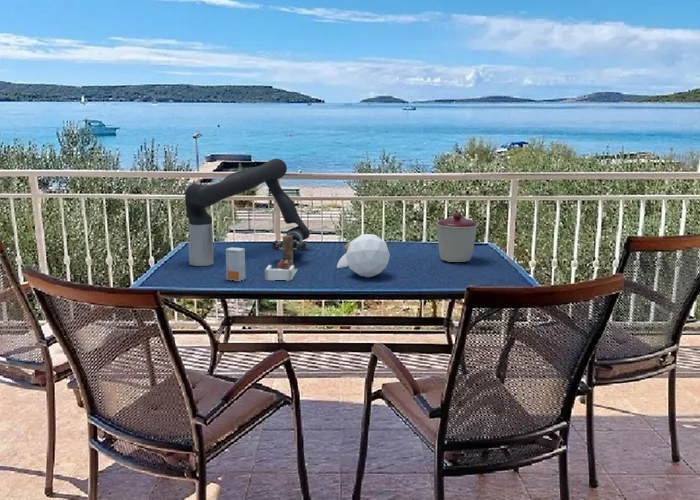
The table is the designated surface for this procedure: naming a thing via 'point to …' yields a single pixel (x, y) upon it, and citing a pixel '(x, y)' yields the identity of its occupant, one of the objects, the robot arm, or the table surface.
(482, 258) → the table surface
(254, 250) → the table surface
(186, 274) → the table surface
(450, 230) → the canister
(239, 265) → the skincare box
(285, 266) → the brown thin block
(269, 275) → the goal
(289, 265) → the guides
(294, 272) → the pale green square plate
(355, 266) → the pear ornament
